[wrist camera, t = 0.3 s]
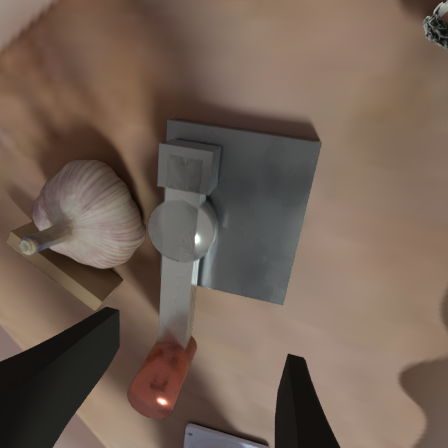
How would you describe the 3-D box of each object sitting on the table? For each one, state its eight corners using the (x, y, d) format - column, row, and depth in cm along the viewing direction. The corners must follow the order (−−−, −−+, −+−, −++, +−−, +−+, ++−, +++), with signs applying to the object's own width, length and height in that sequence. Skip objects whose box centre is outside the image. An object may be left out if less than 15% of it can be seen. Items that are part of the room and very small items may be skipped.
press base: (283, 295, 23) (282, 309, 21) (166, 268, 24) (157, 280, 23) (320, 140, 18) (322, 144, 17) (174, 118, 20) (163, 120, 18)
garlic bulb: (74, 138, 22) (-36, 158, 15) (170, 181, 22) (105, 224, 14) (59, 228, 25) (-38, 282, 18) (142, 267, 25) (77, 338, 17)
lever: (164, 137, 19) (116, 151, 14) (229, 147, 18) (204, 166, 13) (155, 347, 25) (120, 408, 20) (203, 360, 25) (179, 426, 20)
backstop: (123, 280, 25) (102, 301, 23) (116, 288, 26) (95, 311, 23) (42, 216, 25) (11, 231, 22) (36, 227, 25) (5, 242, 23)
